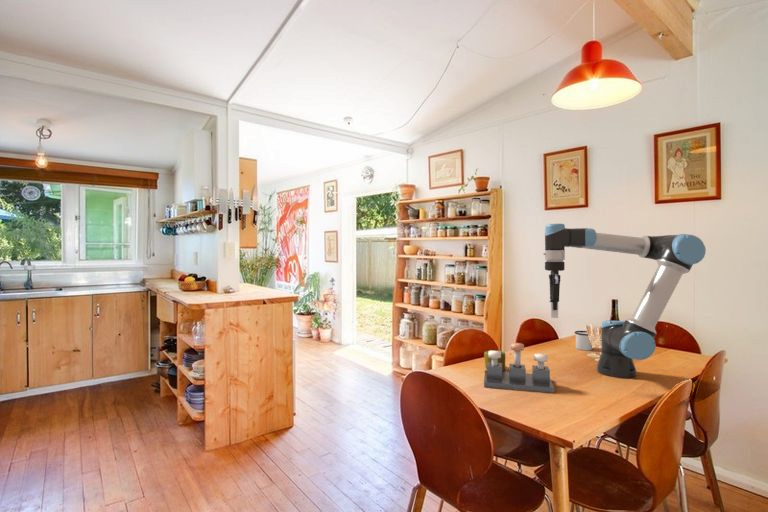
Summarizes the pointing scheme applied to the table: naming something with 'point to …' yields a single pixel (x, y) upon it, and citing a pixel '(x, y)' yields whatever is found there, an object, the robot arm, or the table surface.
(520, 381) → the mount
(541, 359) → the knob near
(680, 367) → the table surface
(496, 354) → the knob far
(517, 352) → the pink capped peg
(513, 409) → the table surface
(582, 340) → the mug
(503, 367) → the mug
